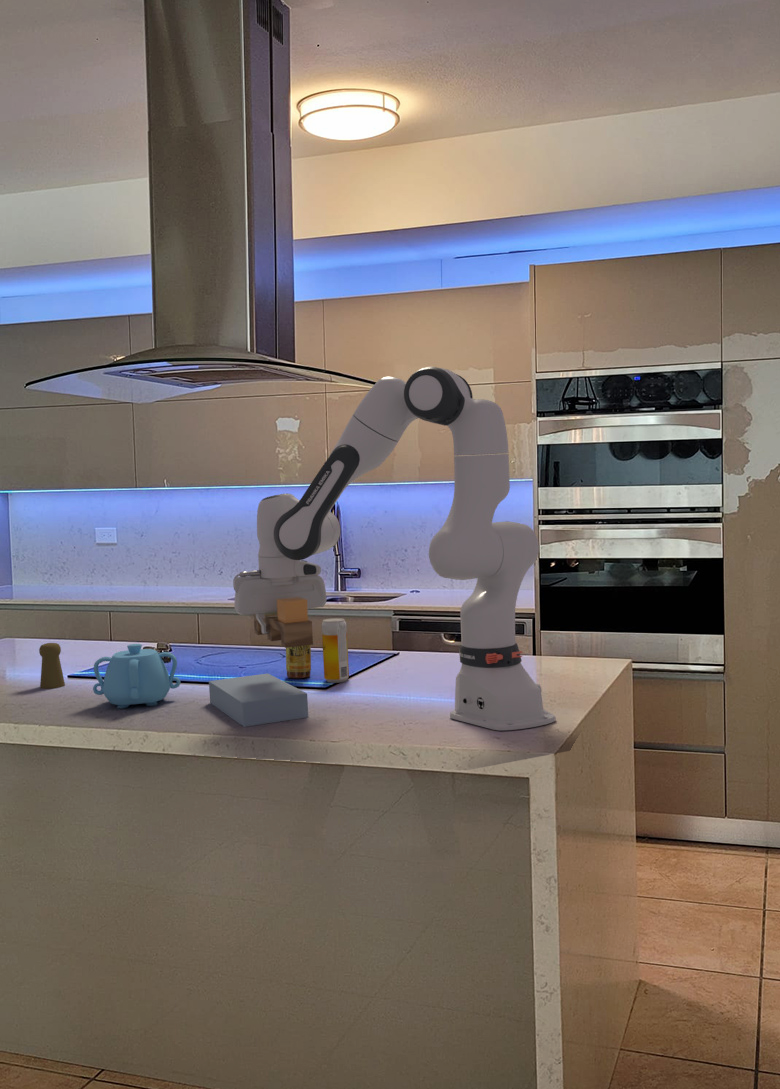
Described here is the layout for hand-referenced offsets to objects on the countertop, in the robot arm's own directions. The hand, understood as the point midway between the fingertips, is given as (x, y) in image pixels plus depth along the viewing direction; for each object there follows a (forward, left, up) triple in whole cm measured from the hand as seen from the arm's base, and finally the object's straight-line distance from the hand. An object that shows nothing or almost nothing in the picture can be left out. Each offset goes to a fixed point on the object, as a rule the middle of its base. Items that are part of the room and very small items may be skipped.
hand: (282, 631), depth 222 cm
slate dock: (0, +6, -17) cm, 18 cm away
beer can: (+18, -20, -17) cm, 32 cm away
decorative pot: (+24, +27, -17) cm, 40 cm away
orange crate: (-8, 0, +3) cm, 8 cm away
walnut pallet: (0, 0, -2) cm, 2 cm away
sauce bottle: (+28, -14, -17) cm, 36 cm away
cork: (+57, +42, -17) cm, 73 cm away
